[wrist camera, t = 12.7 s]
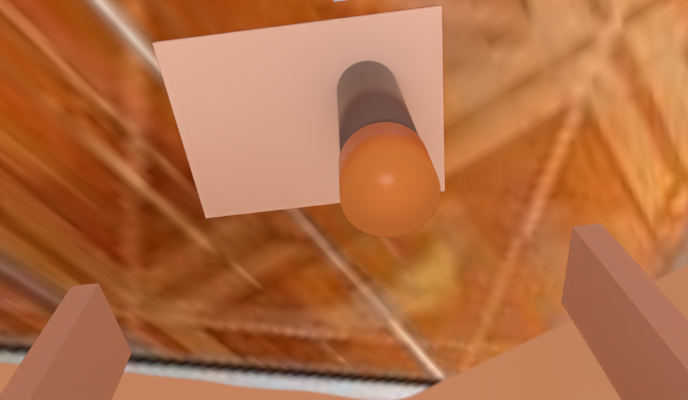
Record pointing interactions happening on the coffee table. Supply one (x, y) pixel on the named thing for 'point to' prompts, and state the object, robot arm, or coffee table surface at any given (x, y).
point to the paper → (292, 103)
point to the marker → (381, 156)
